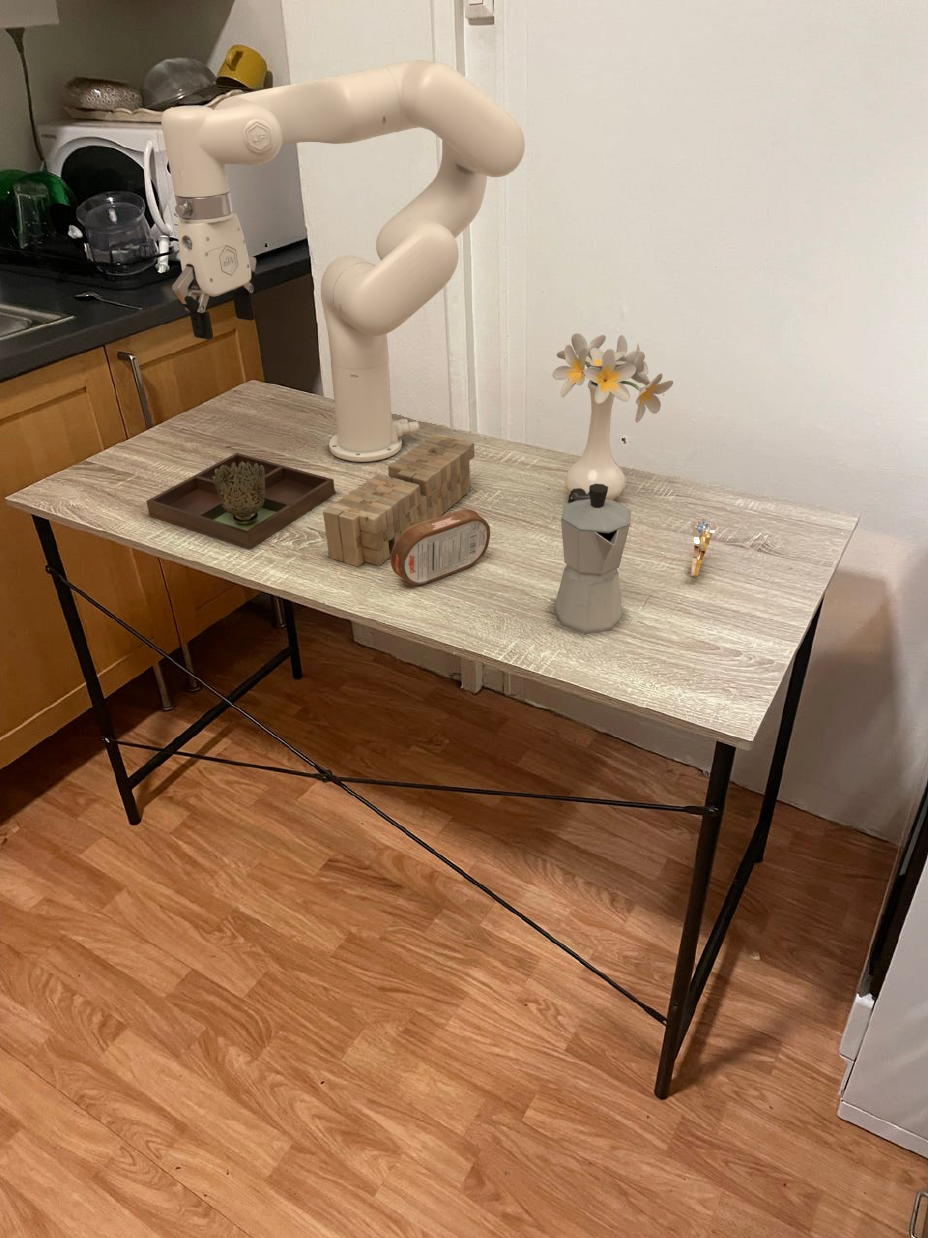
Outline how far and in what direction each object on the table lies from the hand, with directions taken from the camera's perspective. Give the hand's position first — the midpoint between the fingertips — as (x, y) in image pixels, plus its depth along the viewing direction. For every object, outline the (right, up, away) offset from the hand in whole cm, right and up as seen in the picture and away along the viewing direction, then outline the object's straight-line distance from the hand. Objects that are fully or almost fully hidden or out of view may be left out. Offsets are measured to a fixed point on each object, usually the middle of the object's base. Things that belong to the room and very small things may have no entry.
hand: (225, 328), depth 139 cm
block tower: (+27, -30, -1) cm, 40 cm away
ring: (+68, -38, -13) cm, 79 cm away
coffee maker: (+52, -43, -20) cm, 70 cm away
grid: (+2, -26, +4) cm, 27 cm away
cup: (+4, -30, -2) cm, 30 cm away
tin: (+33, -38, -13) cm, 52 cm away
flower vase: (+57, -26, +4) cm, 63 cm away
